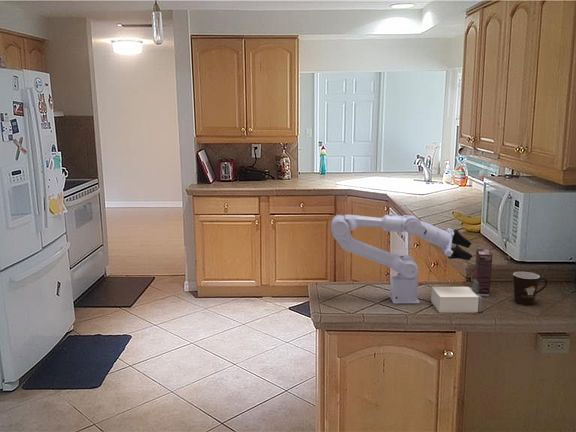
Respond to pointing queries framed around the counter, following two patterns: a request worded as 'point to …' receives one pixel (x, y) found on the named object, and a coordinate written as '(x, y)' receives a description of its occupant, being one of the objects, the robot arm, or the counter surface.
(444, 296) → the sleeve
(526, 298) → the coffee mug
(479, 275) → the supplement box
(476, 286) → the tray
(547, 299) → the counter surface
